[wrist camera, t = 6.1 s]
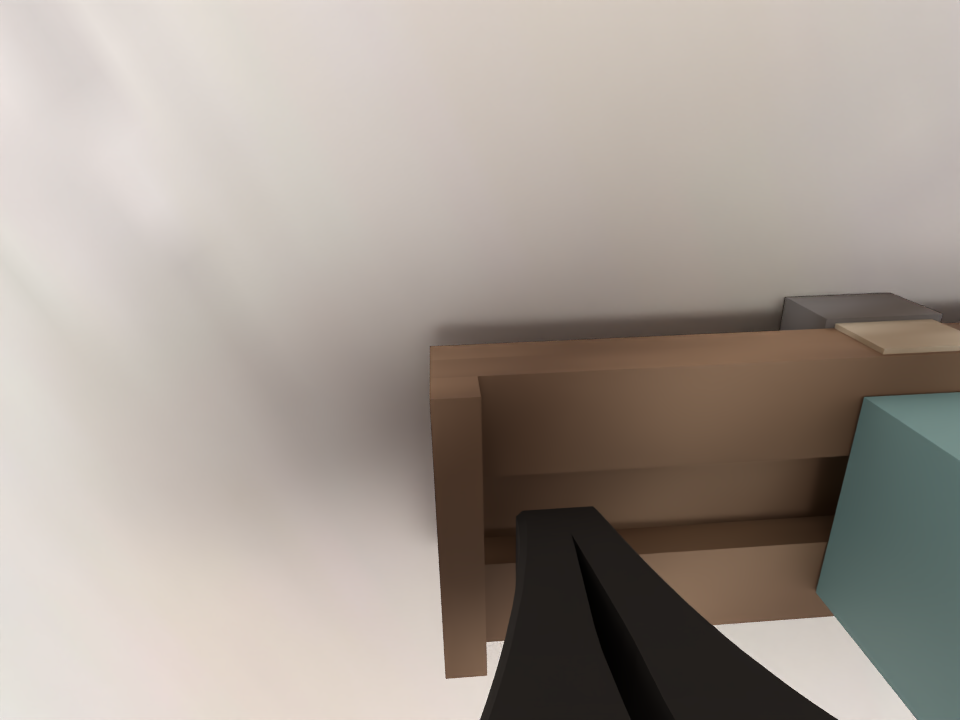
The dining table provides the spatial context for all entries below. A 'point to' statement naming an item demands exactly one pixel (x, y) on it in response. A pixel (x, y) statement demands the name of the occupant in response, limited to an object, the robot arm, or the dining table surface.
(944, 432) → the teal block
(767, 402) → the brown wooden rack
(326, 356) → the dining table surface
